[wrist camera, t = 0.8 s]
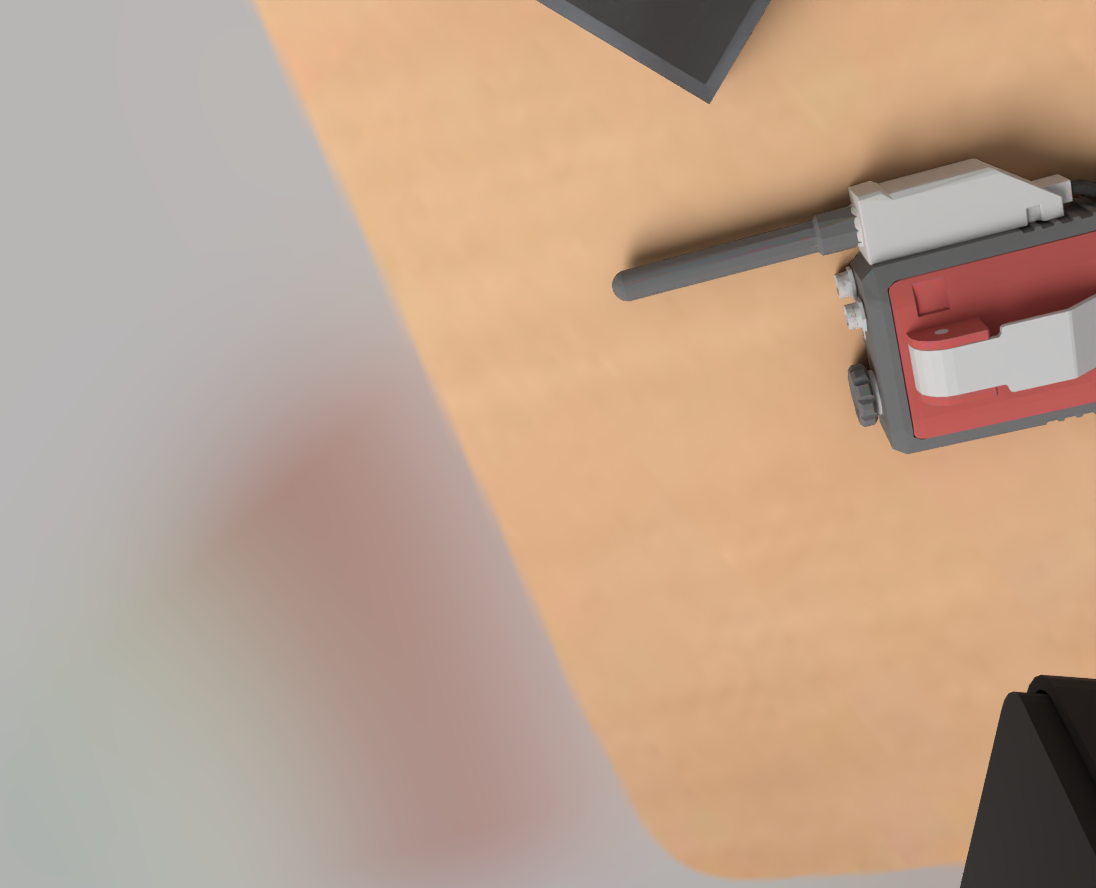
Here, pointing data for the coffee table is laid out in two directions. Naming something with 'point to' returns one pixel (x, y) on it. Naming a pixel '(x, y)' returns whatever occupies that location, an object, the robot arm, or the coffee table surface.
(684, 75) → the stand
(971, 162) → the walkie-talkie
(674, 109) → the coffee table surface
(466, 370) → the coffee table surface
